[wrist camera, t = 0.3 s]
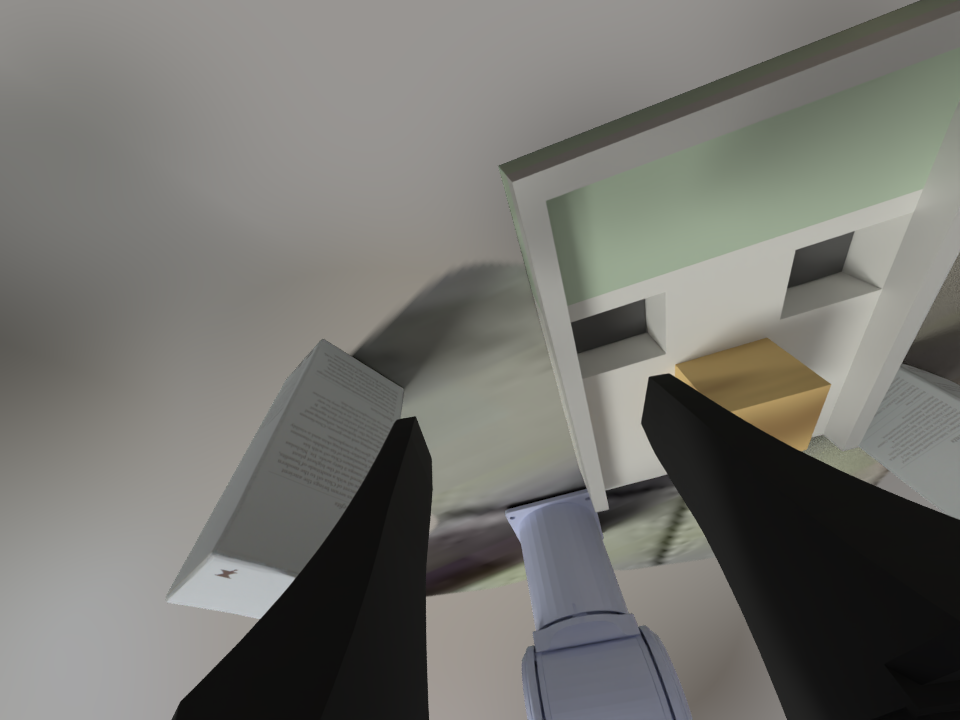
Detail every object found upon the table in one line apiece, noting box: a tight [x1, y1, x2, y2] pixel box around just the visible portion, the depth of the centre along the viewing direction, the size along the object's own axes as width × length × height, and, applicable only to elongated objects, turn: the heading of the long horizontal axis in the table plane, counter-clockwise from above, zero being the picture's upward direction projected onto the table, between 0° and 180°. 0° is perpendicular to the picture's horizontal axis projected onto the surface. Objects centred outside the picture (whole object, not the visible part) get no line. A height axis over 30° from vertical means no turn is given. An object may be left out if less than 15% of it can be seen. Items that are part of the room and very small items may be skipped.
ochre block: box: [675, 338, 831, 451], centre depth 19 cm, size 5×5×4 cm
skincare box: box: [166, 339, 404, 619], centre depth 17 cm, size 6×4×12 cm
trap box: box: [499, 0, 960, 513], centre depth 20 cm, size 24×18×4 cm
